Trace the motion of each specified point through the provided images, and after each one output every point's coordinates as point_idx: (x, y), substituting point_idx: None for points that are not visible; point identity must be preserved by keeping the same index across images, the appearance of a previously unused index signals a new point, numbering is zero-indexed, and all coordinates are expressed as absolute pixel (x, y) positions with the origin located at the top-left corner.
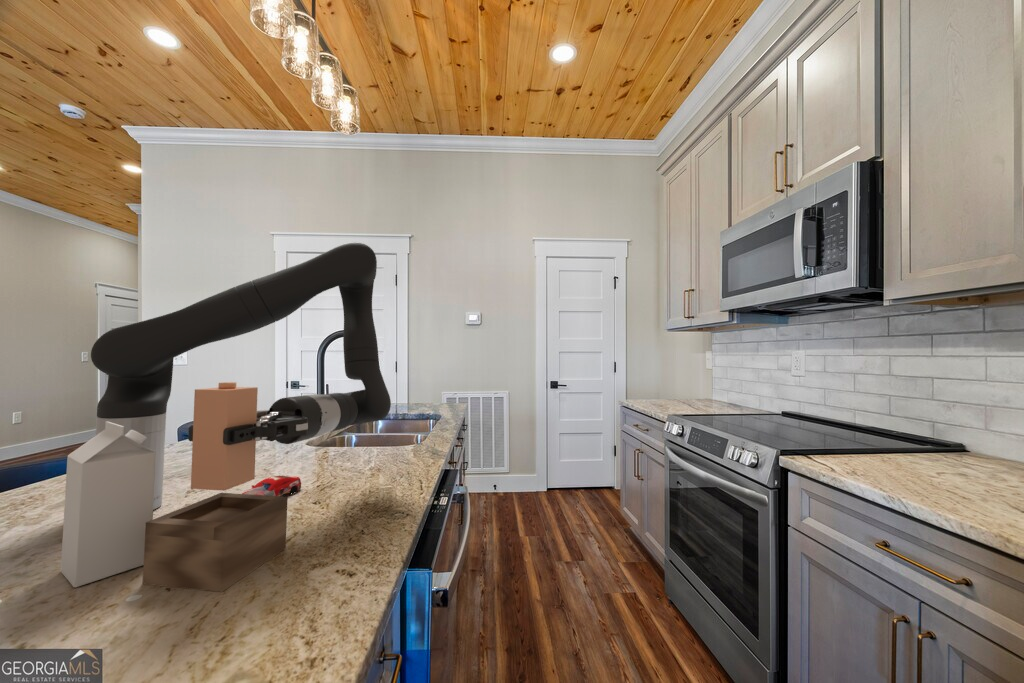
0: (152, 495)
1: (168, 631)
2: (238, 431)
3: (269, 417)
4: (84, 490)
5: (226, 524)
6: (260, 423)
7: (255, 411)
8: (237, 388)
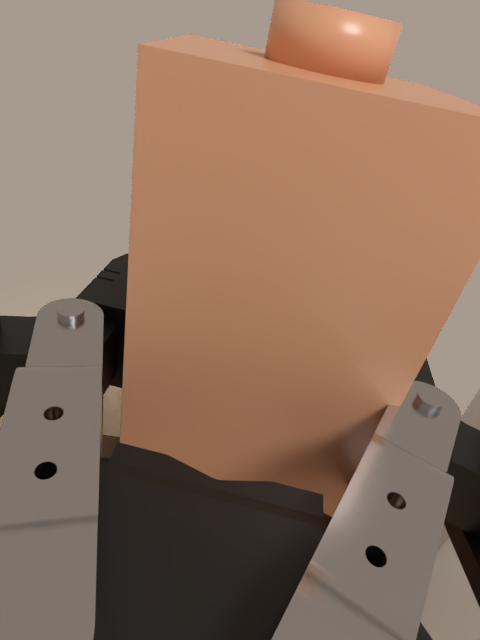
0: (443, 536)
1: (118, 429)
2: (115, 262)
3: (22, 368)
4: (476, 395)
5: (102, 454)
6: (48, 305)
7: (131, 290)
8: (246, 54)
